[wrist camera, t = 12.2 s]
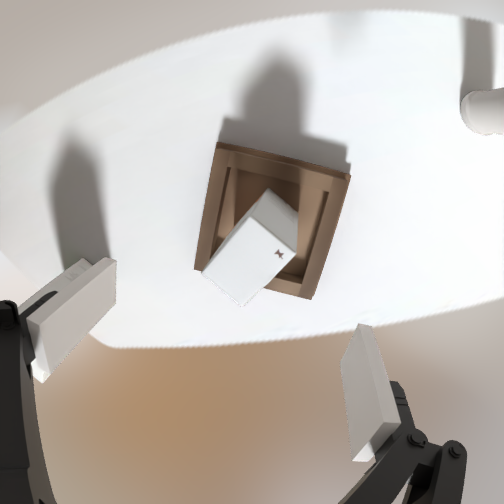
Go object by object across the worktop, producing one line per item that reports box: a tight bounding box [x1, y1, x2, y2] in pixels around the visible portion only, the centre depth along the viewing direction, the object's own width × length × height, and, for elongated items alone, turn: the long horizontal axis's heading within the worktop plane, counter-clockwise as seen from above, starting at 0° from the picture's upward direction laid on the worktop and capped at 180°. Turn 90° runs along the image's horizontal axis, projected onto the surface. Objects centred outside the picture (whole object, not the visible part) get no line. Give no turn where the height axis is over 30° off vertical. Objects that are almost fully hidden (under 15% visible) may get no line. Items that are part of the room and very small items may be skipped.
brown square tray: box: [194, 142, 351, 300], centre depth 33 cm, size 14×14×3 cm
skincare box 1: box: [18, 258, 93, 383], centre depth 34 cm, size 8×7×16 cm
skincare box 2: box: [201, 188, 298, 307], centre depth 28 cm, size 6×4×12 cm
